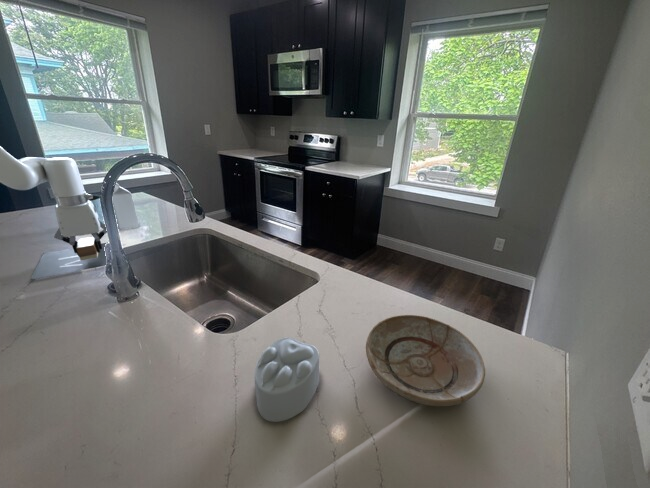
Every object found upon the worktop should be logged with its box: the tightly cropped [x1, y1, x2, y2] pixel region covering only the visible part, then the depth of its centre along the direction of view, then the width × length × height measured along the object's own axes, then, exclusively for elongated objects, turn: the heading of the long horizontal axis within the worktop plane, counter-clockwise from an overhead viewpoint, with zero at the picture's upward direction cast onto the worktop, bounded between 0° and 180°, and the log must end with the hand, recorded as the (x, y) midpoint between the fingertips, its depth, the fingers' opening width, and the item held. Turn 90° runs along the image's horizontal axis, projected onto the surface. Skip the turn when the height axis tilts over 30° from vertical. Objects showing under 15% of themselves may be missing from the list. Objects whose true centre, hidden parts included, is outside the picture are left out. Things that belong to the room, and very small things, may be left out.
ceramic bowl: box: [365, 314, 486, 407], centre depth 62 cm, size 23×24×5 cm
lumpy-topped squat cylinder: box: [254, 336, 320, 423], centre depth 55 cm, size 10×13×9 cm
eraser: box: [76, 236, 98, 261], centre depth 98 cm, size 8×4×4 cm, turn 32°
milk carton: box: [113, 182, 140, 231], centre depth 124 cm, size 7×7×19 cm
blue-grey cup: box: [88, 194, 104, 223], centre depth 126 cm, size 10×10×12 cm
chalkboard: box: [30, 242, 107, 281], centre depth 100 cm, size 20×20×1 cm
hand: (89, 252), depth 99 cm, fingers closed on eraser, 4 cm apart
